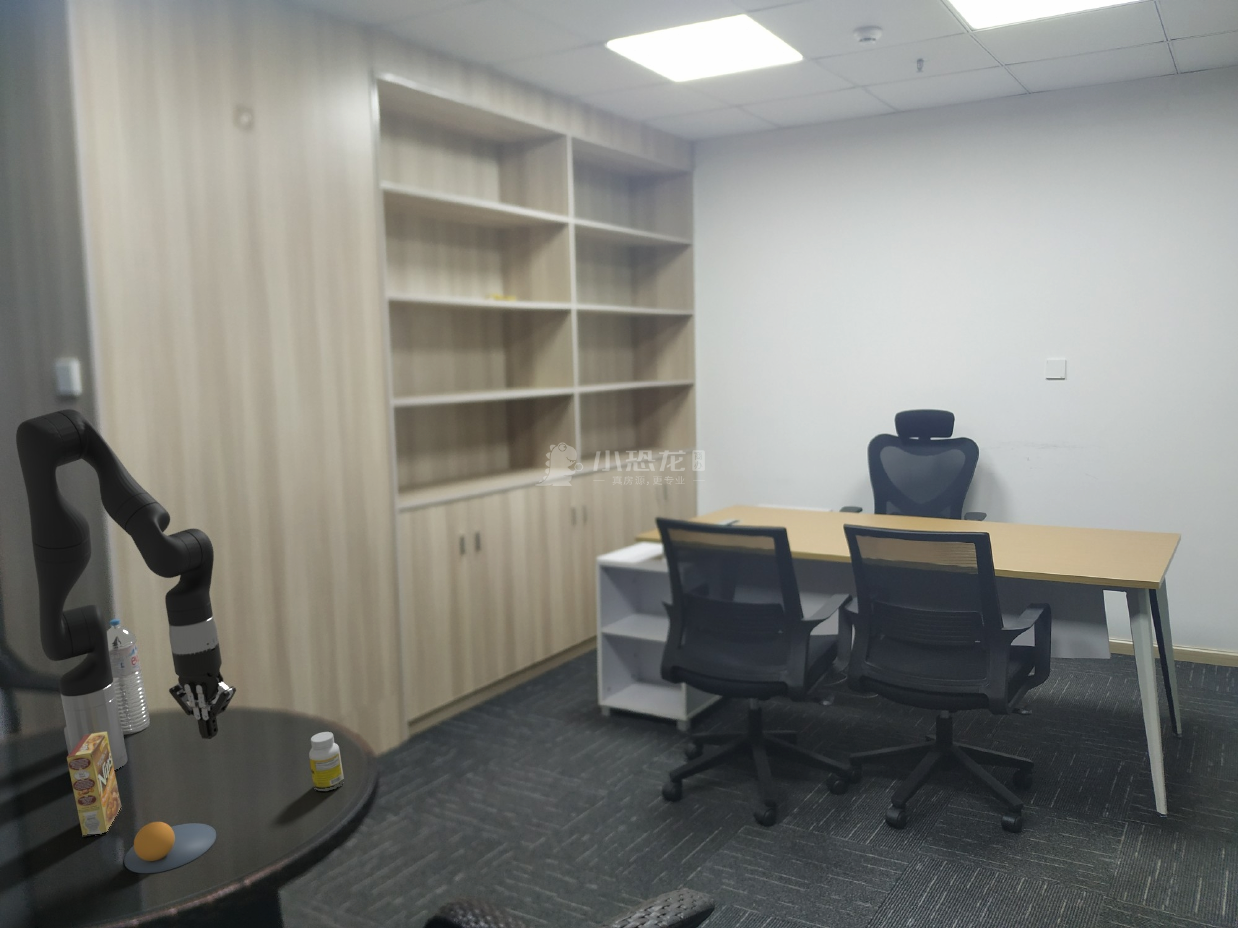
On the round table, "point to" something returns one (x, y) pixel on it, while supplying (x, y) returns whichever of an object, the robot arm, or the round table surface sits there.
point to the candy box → (94, 783)
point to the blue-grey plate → (176, 849)
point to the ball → (154, 841)
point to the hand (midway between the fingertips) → (209, 736)
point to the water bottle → (127, 679)
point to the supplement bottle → (325, 761)
